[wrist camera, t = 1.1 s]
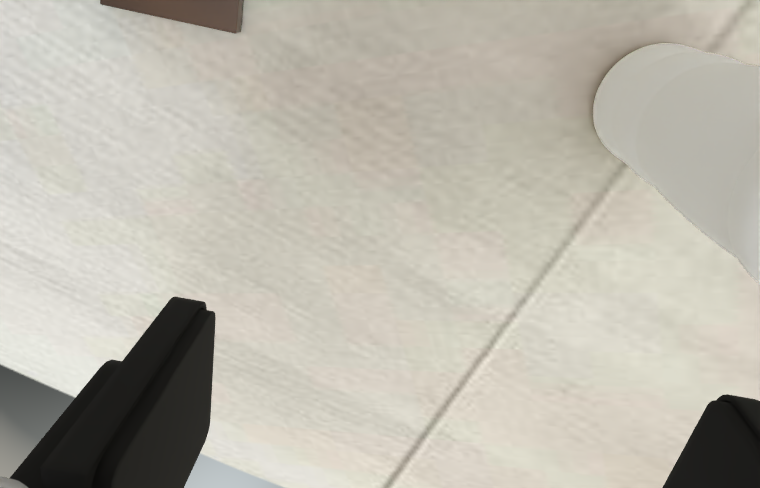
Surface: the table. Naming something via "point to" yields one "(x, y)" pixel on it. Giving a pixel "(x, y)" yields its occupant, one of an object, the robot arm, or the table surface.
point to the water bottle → (690, 137)
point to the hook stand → (189, 11)
